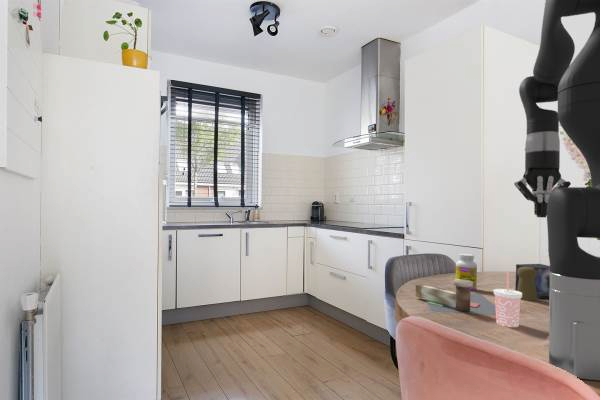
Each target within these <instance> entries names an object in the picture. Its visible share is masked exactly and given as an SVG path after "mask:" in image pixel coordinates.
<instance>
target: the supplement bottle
mask: <svg viewBox="0 0 600 400" xmlns="http://www.w3.org/2000/svg"><path fill="white" fill-rule="evenodd" d="M458 256H459V257H458V258H459V260H458V261H456V263H455V279H463V280H470V281H472V282H473V287H470V291H476V290H477V286H478V285H477V283H478V282H477V281H478V280H477V279H478V277H477V275H478V265H477V263H476V262H475V261H474V259H475V255H474V254H470V253H459V254H458Z"/></svg>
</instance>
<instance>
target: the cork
mask: <svg viewBox="0 0 600 400" xmlns="http://www.w3.org/2000/svg"><path fill="white" fill-rule="evenodd" d="M517 274H518V276H519V282H518V288H517V291H519V292H521V293H522V297H521V301H526V302H538V300H539V299H538V298H537V291H536V284H535V278H536V276H537V271H536V270H535V269H534V268H531V267H520V268H518V270H517Z"/></svg>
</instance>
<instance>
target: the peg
mask: <svg viewBox="0 0 600 400" xmlns="http://www.w3.org/2000/svg"><path fill="white" fill-rule="evenodd" d="M453 286H455V292H456V293H455V292H454V291H451V290H445V289H443V288H442V289H441V288H437V287H433V286H429V285H424V284H422V283H421V284H419V283H418V284H415V297H416V298H420V299H424V300H425V299H427V300H430V301H434V302H438V303H441V304H445V305H449V306H452V307H456V309H457V310H460V311H470V293H471V290H470V287H473V282H472V281H470V280H463V279H456V278H455V279H453Z"/></svg>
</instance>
